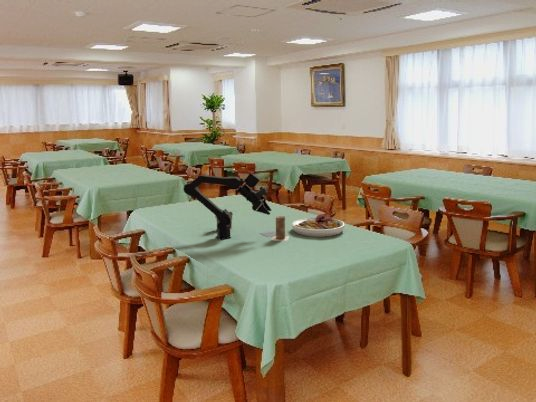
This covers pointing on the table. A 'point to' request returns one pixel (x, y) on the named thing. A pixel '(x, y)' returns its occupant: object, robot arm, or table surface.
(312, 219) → the bowl
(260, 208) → the robot arm
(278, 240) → the tile
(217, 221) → the food container
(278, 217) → the walnut block
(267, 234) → the rest mat
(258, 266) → the table surface
